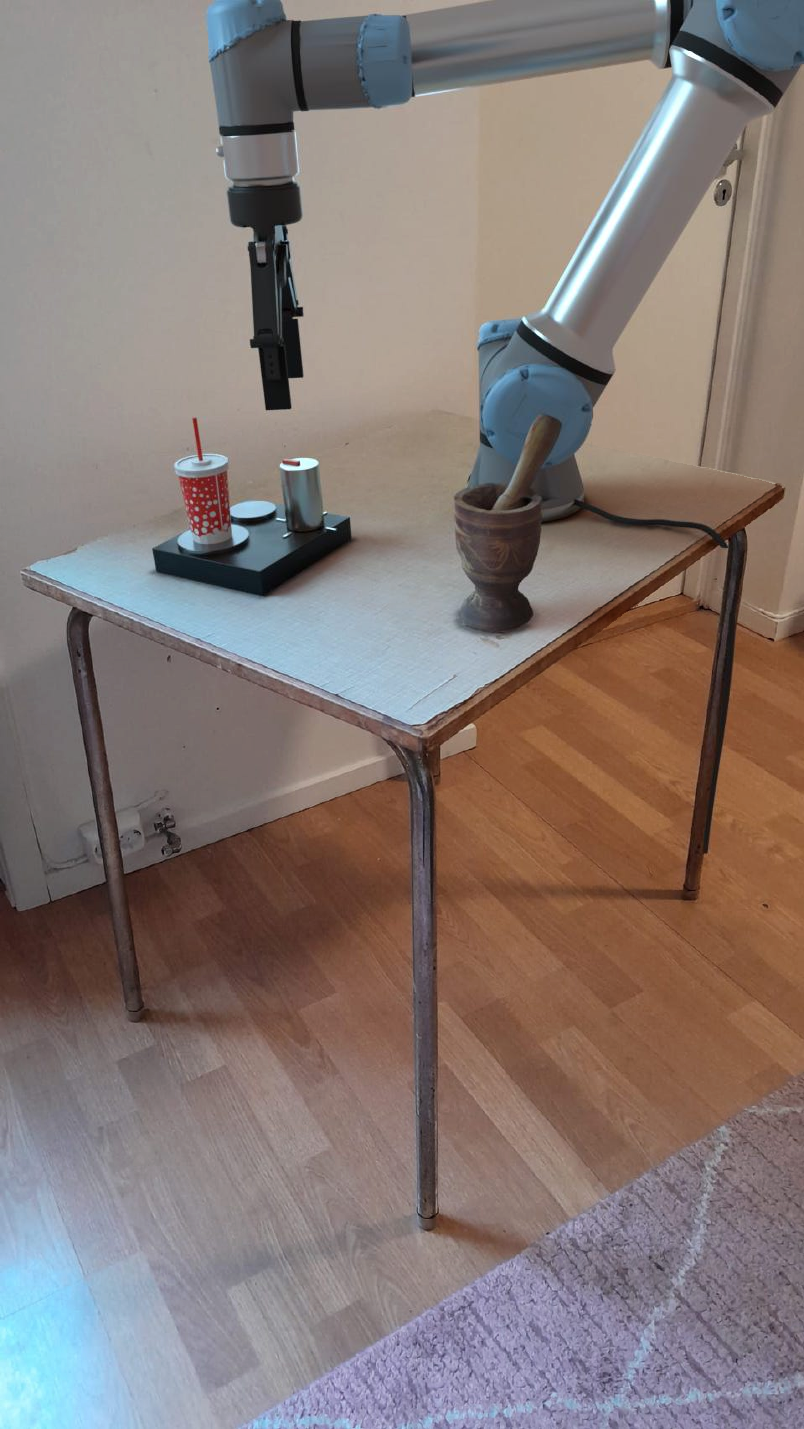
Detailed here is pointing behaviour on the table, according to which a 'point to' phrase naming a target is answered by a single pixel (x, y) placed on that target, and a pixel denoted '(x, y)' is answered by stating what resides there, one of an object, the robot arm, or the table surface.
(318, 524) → the knob
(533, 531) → the mortar and pestle
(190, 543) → the hot plates
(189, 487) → the beverage cup
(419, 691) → the table surface
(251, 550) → the hob
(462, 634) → the table surface
